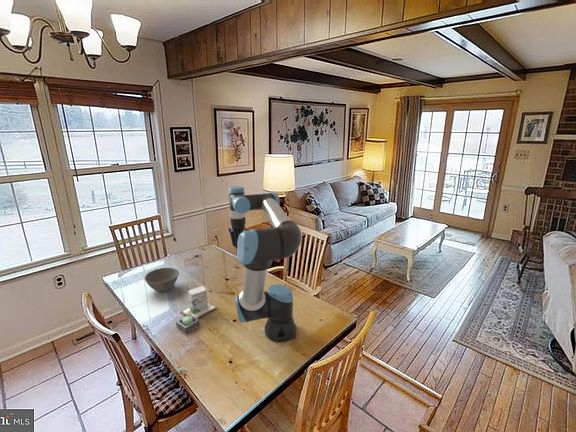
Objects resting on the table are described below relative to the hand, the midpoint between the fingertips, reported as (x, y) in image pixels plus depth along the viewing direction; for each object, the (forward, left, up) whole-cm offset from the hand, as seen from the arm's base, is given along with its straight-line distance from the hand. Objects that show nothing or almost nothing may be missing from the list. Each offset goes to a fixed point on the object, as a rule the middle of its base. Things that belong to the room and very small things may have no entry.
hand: (240, 259), depth 158 cm
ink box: (+12, +19, -26) cm, 35 cm away
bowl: (+47, +20, -27) cm, 58 cm away
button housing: (+6, +30, -27) cm, 41 cm away
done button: (+6, +30, -26) cm, 40 cm away
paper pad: (+13, +19, -27) cm, 35 cm away
